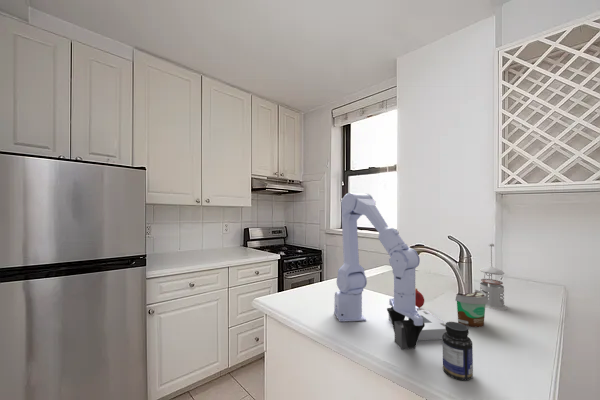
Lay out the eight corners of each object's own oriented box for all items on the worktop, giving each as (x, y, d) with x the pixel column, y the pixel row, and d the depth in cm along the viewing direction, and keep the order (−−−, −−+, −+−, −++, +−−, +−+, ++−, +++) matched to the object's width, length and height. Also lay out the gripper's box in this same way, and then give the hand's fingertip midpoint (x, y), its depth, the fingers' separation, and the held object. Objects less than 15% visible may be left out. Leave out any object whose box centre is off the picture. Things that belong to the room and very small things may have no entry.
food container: (475, 332, 81) (474, 300, 81) (455, 324, 86) (455, 294, 87) (496, 324, 87) (495, 294, 87) (476, 317, 92) (476, 289, 92)
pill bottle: (459, 364, 64) (459, 319, 64) (479, 380, 58) (479, 331, 58) (436, 366, 63) (436, 320, 64) (454, 382, 57) (454, 332, 58)
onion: (426, 313, 95) (426, 291, 96) (409, 311, 97) (409, 290, 97) (422, 307, 101) (422, 286, 101) (406, 305, 102) (406, 285, 102)
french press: (480, 307, 101) (480, 244, 102) (473, 298, 112) (472, 240, 113) (511, 311, 98) (510, 245, 98) (501, 301, 108) (500, 242, 109)
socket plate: (410, 340, 75) (410, 328, 75) (388, 320, 89) (388, 309, 89) (454, 338, 77) (454, 326, 77) (426, 318, 91) (426, 308, 91)
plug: (401, 349, 71) (401, 327, 71) (394, 342, 75) (394, 321, 75) (415, 348, 71) (415, 326, 71) (407, 341, 75) (407, 320, 75)
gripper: (433, 300, 67) (433, 353, 66) (404, 283, 81) (404, 327, 81) (408, 301, 66) (408, 355, 65) (383, 284, 80) (383, 328, 80)
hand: (404, 340), depth 73 cm, fingers open, 6 cm apart
